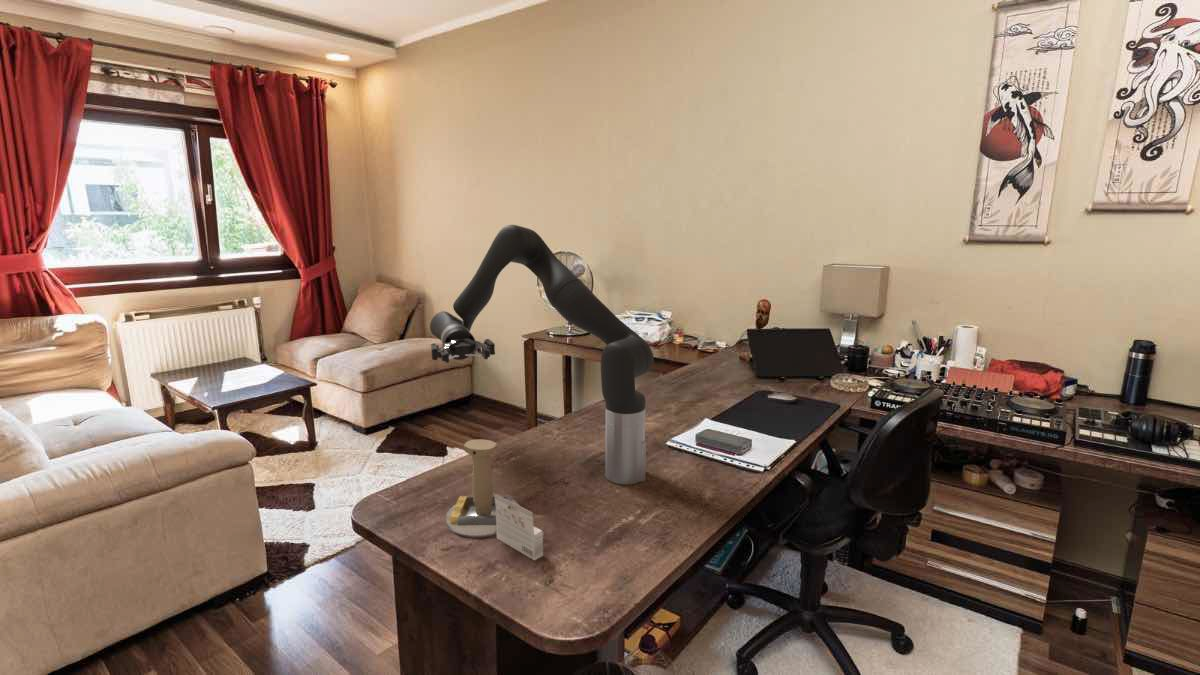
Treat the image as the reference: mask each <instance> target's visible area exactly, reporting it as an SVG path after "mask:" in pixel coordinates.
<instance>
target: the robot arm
mask: <svg viewBox="0 0 1200 675" xmlns="http://www.w3.org/2000/svg"><path fill="white" fill-rule="evenodd" d="M510 263H515V264H520V265H523V266H524V267H526V268H528V270H530V272H532V274H534V275H535V276H536V277H537V278H538V280H539V281H540V282H541V284H542V287H543V290H544V293H545V296H546V298H547V300H548V301H549V303H550V305H551V306H552V307H553V308H554V309H555V310H556V311H557V313H558V314H559V315H561V317H562V318H563V319H564V320H566V321H567V322H568V323H569V324H571V325H572V326H574V327H577V328H579V329H581V330H582V331H585V332H586V333H589V334H591V335H593V336H595V338H598V339H599V340H601V341H602V342H603V343H604V344H605V346H604V348H603V350H602V352H601V354H600V355H601V356H600V379H601V380H600V381H601V392H602V396H603V398H604V402H605V404H604V405H605V406H604V407H605V415H604V416H605V417H604V418H605V427H604V429H605V431H604V432H605V434H604V435H605V441H604V443H605V444H604V445H605V448H604V449H605V452H604V453H605V456H604V458H605V461H604V462H605V463H604V466H605V467H604V470H605V472H604V474H605V478H606V480H608V481H609V482H611V483H613V484H618V485H624V486H625V485H627V486H628V485H634V484H638V483H640V482H646V466H647V465H646V460H647V458H646V456H647V455H646V454H647V452H646V450H647V446H646V445H647V444H646V396H645V394H643V393H642V392H640V391H637V390H636V382H635V380H636V378H639V377H640V376H642V375H645V374H647V373H648V372H649V371H650V370H651V369H652V367H653V366H654V361H655V360H654V353H653V351H652V349H651V347H650V345H649V344H648V343H647V341H646V340H645V339H644V338H642V337H641V336H640V335H639V334H638V333H636V332H635V331H634V330H633V329H631V327H629V326H628V325H626V324H625V323H624V322H623V321H622V320H621V319H619V317H617V315H616V314H615V313H613V312H612V311H611V310H610V309H609V308H608V307H607V306H606V305H605V304H604V303H603V302H602V301H601V300H600V299H599V298H598V297H597V296H596V295H595V294H594V292H592V291H591V290H590V288H589V287H588V286H587V285H585V283H584V282H583V280H582V281H581V279H580V278H579V277H578V276H576V275H575V274H574V273H573V272H572V271H571V270H570V268H568V267H567V266H566V265H565V264H564V263H563V262H562V261H561V260H560V259H558V257H557V256H556V255H555V254H554V253H553V251H552V250H551V249H550V247H549V246H548V245H547V243H546V242H545V241H544V239H543V238H542V237H541V236H540V234H538V233H537V232H536V231H535V230H533V229H531V228H528V227H525V226H524V227H523V226H521V225H518V224H507V225H505V226H503V227H502V228H501V229H500V230H499V232H498V233H497V234H496V236H495V237H494V239H493V241H492V242H491V245H490V247H489V248H488V250H487V252H486V254H485V255H484V258H483V259H482V261H481V263H480V265H479V267H478V268H477V270H476V272H475V274H474V275H473V277H472V279H471V280H470V281H469V282H468V284H467V285H466V287H465V288H464V289H463V290H462V292H461V293H460V294H459V296H458V297H457V298H456V299H455V300H454V302H453V305H452V309H453V310H454V312H455V313H456V315H457V316H458V317H459V318H458V317H456V316H455V315H453V314H451V313H450V312H448V311H442V310H441V311H439V312H437V313H435V314H434V316H433V317H432V318H431V320H430V323H429V330H430V333H431V334H432V335H433V336H434V337H436V338H437V339H438V340H440V341H441V345H440V346H439V344H437V343H434V342H433V343H431V344H430V347H431V348H430V349H431V351H430V352H431V360H432V361H438V359H440V360H441V361H442V362H445V364H449V363H450V360H455V361H463V360H466V359H468V358H470V357H476V358H478V357H481V356H482V357H483V360H488V359H489V358H490V357H491V356H494V355H496V351H495V350H496V348H495V343H494V342H493V341H492V340H491V339H490V338H486V339H484V341H483V342H481V341H479V340H476V339H475V336H474V335H473V333H471V329H472V326H473V324H474V322H475V320H476V319H477V317H478V316H479V314H481V312H482V311H483V310H484V309H485V307H486V306H487V305H488V304H489V302H490V301H491V299H492V297H493V294H494V291H495V285H496V281H497V279H498V276H499V275H500V273H501V272H502V271H503V270H504V269H505V267H507V265H509V264H510Z"/></svg>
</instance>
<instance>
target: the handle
mask: <svg viewBox="0 0 1200 675" xmlns="http://www.w3.org/2000/svg"><path fill="white" fill-rule="evenodd" d="M463 446H464V453H466V454H468V455H470V456H471V457H472V495H473V498H474V504H475V511H476V513H478V514H479V515H480V516H482V515H488V514H489V513H490V512H491V511H492V506H491V505H492V497H493V495H494V491H493V480H492V471H491V461H490V457H491V455H493V454H494V453H496V452H497V449H498V446H497V442H496V441H493V440H490V439H482V438H481V439H478V438H477V439H471V440H467V441H466V442H465V443H464V445H463Z"/></svg>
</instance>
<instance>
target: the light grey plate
mask: <svg viewBox="0 0 1200 675" xmlns="http://www.w3.org/2000/svg"><path fill="white" fill-rule="evenodd" d="M492 495H493V497H492V505H491V506H492V511H491V512H490V513H489V514H488V515H482V516H480V515H479V514H478V513H476V511H475V504H474V498H473V494H467V495H459V497H458V498H457V501H456V503H455V504H454V505H453V506H452V507H450V509H449V510H448V511H447V513H446V518H445V520H446V526H447V528H448V529H449V531H451V532H452V533H453V534H456V535H458V536H461V537H466V538H488V537H493V536H497V530H496V515H497V513H496V505H495V496H494V494H492ZM498 495H499V496H501V497H503V498H505V499H507V500H509V501H511V502H513V503H515V504H517V505H519V506H520V504H519V503H518V502H517V501H515V500H514V499H513V495H508V494H498ZM508 508H509V509H510V510H512V511H514V512H516V513H518V514H519V512H518V511H517V509H516V508H515V507H514V506H508Z"/></svg>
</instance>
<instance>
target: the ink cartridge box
mask: <svg viewBox="0 0 1200 675" xmlns="http://www.w3.org/2000/svg"><path fill="white" fill-rule="evenodd" d="M493 495H494V496H495V505H496V513H497V515H496V530H497V535H496V539H497V540H499V541H501V542H502V543H504V544H505V545H508V547H511V548H513V549H514V550H516V551H518V552H519V553H521V554H522V555H524V556H526V557H527V558H529V559H531V560H532V561H537V560H538V559H540V558H542V557H543V556H544V543H543V542H544V531H543V530H542V529H539V528H538V527H536V526H535V524H534V512H533V511H531V510H528V509H527V508H525V507H522V506H521V505H520V504H519V505H517V504H515V503H513V502H511V501H509V500H507V499H505V498H503V497H501V496H499V495H500V494H497V493H494V492H493ZM508 506H514V507H515V508H516V509H517V511H518V512H519V514H518V513H516V512H514V511H512V510H510V509H509V508H508Z"/></svg>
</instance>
